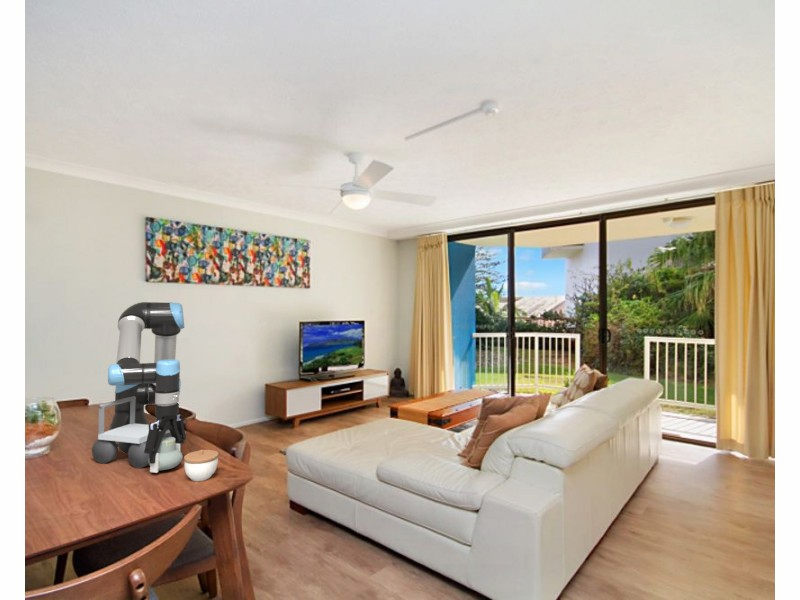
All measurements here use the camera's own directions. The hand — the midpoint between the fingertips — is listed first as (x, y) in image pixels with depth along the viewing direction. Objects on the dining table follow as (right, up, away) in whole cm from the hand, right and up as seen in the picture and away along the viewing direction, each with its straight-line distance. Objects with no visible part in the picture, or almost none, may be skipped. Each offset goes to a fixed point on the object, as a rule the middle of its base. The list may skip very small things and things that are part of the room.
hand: (165, 466), depth 153 cm
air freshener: (0, 0, 0) cm, 0 cm away
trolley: (-17, -1, +10) cm, 19 cm away
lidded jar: (+15, -2, -6) cm, 17 cm away
